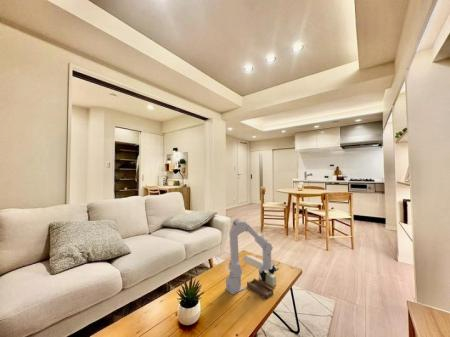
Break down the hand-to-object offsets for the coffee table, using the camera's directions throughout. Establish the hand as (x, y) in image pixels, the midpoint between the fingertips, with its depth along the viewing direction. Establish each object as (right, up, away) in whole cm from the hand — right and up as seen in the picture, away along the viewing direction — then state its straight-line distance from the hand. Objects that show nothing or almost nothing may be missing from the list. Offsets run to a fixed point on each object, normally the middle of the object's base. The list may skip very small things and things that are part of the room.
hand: (267, 279), depth 129 cm
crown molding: (-1, -3, +24) cm, 25 cm away
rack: (-7, -1, -9) cm, 11 cm away
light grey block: (0, -2, 0) cm, 2 cm away
